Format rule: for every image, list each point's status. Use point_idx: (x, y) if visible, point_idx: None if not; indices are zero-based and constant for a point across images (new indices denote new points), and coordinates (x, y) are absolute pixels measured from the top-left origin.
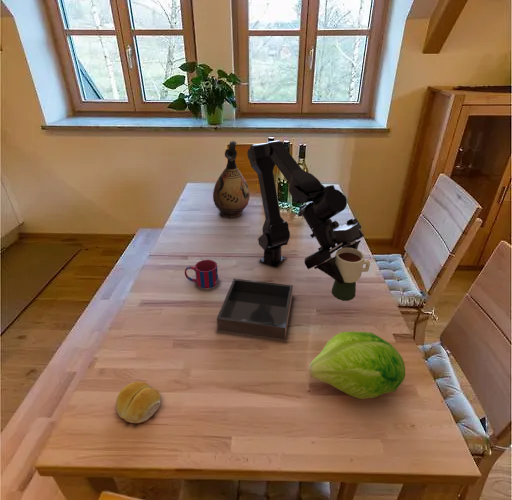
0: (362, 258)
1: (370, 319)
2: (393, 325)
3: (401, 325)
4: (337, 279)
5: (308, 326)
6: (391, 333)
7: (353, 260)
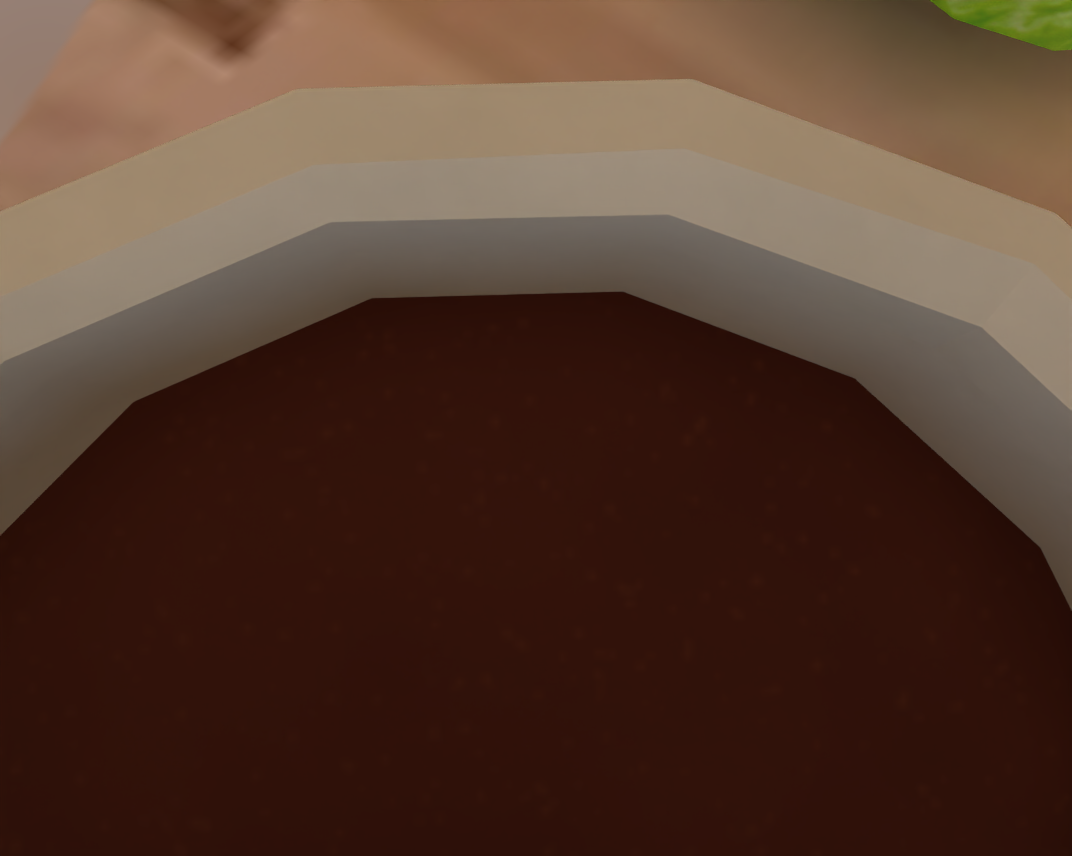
0: (101, 249)
1: None
2: (125, 135)
3: (49, 88)
4: None
5: None
6: (246, 67)
7: (417, 728)
